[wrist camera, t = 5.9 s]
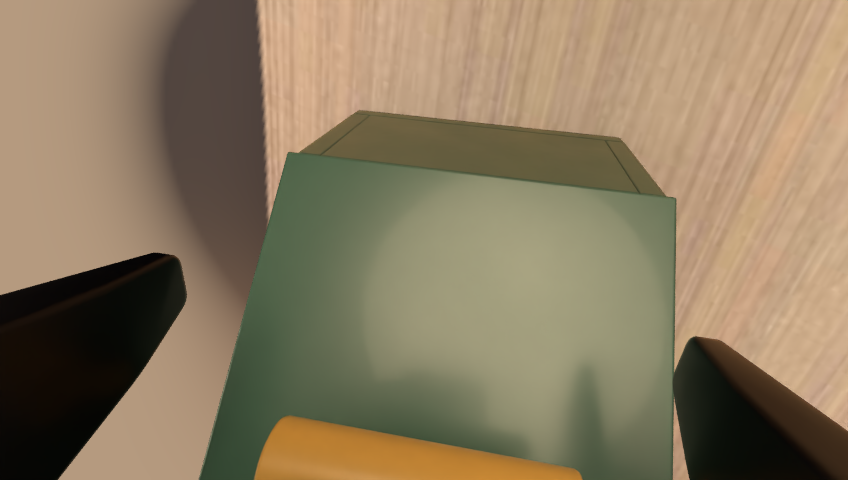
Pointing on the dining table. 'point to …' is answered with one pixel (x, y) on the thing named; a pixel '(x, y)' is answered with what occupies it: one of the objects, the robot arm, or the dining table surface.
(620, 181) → the tea tin
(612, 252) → the tin lid
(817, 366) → the dining table surface
